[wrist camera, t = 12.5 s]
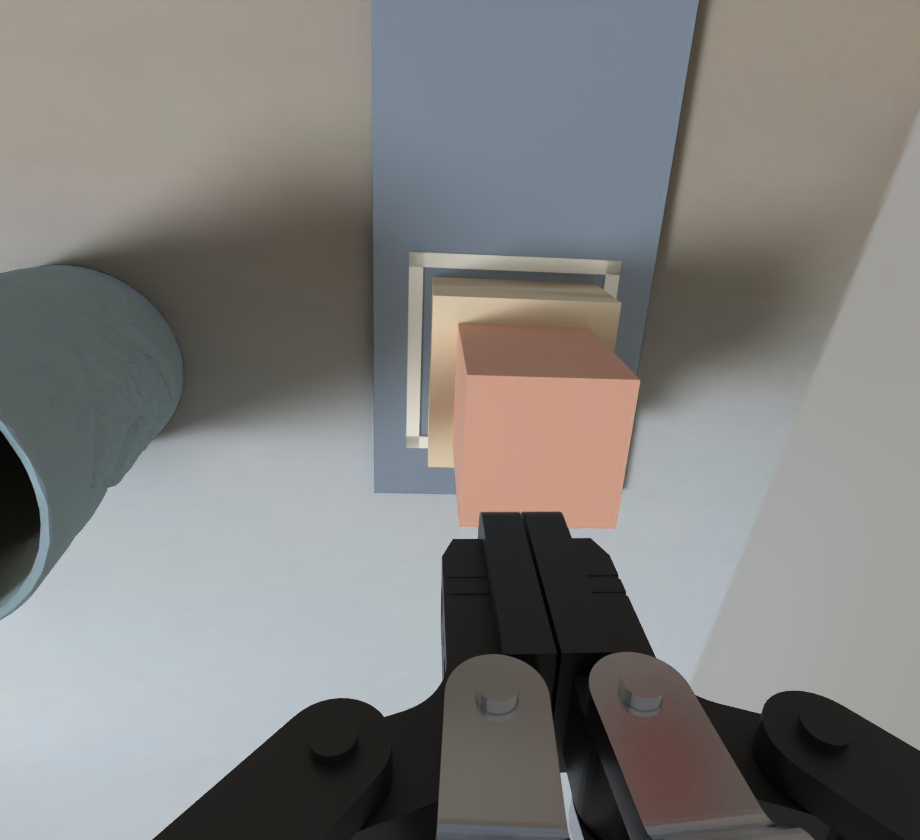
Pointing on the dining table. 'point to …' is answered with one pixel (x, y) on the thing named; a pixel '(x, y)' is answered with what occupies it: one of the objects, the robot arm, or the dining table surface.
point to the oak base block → (501, 307)
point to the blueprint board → (512, 173)
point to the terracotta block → (540, 423)
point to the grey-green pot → (72, 407)
